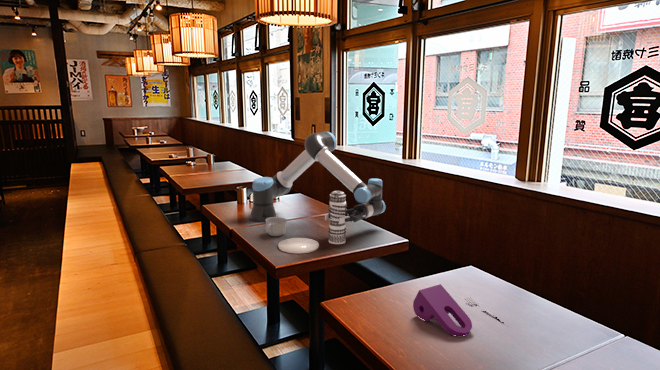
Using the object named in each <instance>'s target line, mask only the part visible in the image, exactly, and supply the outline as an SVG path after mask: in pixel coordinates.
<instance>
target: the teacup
mask: <svg viewBox="0 0 660 370" xmlns="http://www.w3.org/2000/svg"><path fill="white" fill-rule="evenodd" d="M287 221H288V219H286V218H283V217H278V216H277V217H270V218H267V219H266V222H265V232H266V233H267V234H268V235H270V236H272V237H281V236H282V235H284V234H285V233H286V230H287Z"/></svg>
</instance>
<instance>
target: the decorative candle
mask: <svg viewBox="0 0 660 370" xmlns="http://www.w3.org/2000/svg"><path fill="white" fill-rule="evenodd" d="M346 197H347V194H345V192H344V191H342V190H333V191H332V192H331V193H330V194H329V205H328V206H327V207H328V209H327V210H328V213H327V214H329V216H328V217H329V224H328V235H327V236H328V237H327V238H328V243H329V244H331V245H344V244H345V243H346V241H347V240H346V239H347V238H346V237H347V235H346V233H347V231H346V230H347V228H346V223H342V224H339V218H342V217H346V216H345V215H346V214H347V213H346V211H347V210H348V209H347V210H346V209H345V208H347V207H348V203H347V201H346Z"/></svg>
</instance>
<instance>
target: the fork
mask: <svg viewBox="0 0 660 370" xmlns="http://www.w3.org/2000/svg"><path fill="white" fill-rule="evenodd" d="M464 300H465V302H466V303H468V305H470V304H471V305H472V306H473V305H474V304H476V305H477V304H478V303H477V302H476V301H475V300H474V299H472V297H470V296H469V298H468V297H466V298H464ZM473 303H474V304H473ZM486 313H488V314H490V315H491V314H494V313H492V312H490V311H489V310H487V311H486Z"/></svg>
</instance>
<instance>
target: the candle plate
mask: <svg viewBox="0 0 660 370" xmlns="http://www.w3.org/2000/svg"><path fill="white" fill-rule="evenodd" d="M319 247H320V243H319V242H318V241H317V240H314V239H312V238H307V237H292V238H285V239H283V240H280V242H278V249H279V250H280V251H282V252H284V253H287V254H295V255H296V254H297V255H300V254H308V253H312V252H313V253H314V252H316V251H318V249H319Z"/></svg>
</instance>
